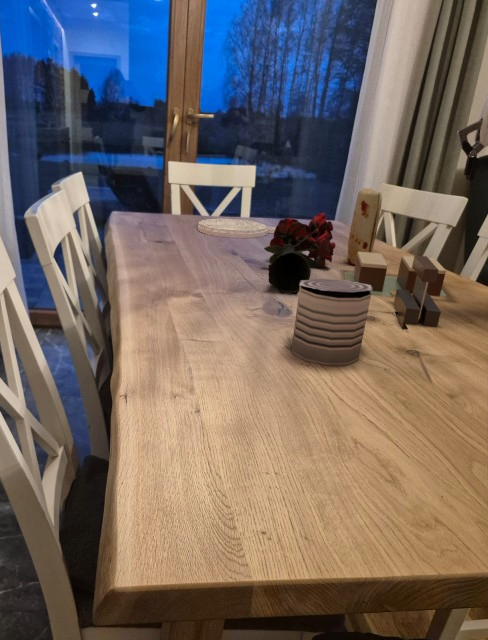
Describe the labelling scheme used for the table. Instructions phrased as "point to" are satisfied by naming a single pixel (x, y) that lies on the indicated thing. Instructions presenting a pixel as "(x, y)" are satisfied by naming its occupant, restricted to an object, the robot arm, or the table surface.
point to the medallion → (234, 228)
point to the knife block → (415, 310)
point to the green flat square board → (389, 285)
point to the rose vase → (298, 251)
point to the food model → (364, 223)
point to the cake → (408, 275)
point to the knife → (422, 278)
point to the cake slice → (370, 270)
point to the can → (330, 321)
